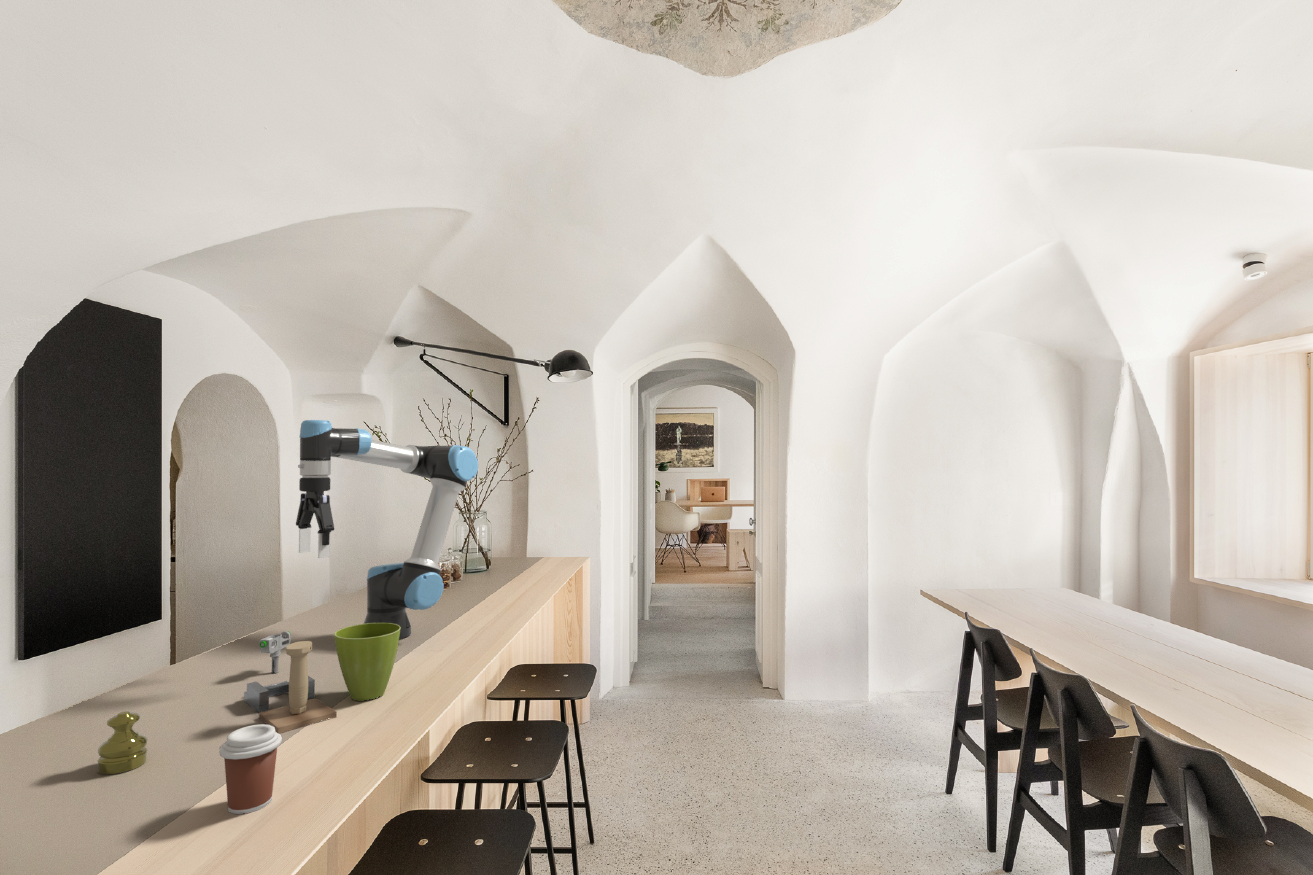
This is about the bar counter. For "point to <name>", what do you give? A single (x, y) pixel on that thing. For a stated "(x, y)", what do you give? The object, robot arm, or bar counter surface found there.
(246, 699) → the vise
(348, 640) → the flower pot
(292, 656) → the handle
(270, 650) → the mechanical component
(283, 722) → the walnut board
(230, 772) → the coffee cup
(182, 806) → the bar counter surface
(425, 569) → the robot arm
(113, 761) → the olive glossy bulbous piece
